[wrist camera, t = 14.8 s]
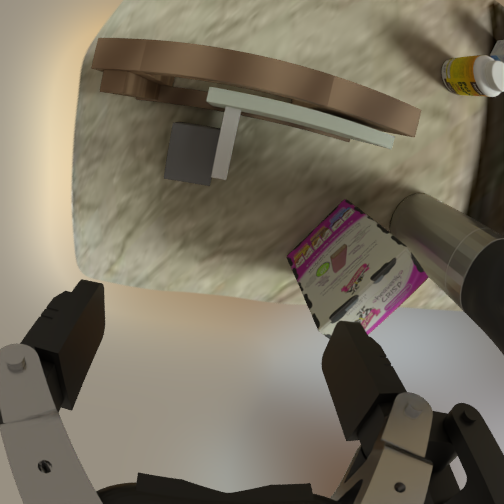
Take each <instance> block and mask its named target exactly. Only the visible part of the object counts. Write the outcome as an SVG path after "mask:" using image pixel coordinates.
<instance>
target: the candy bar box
mask: <svg viewBox="0 0 504 504" xmlns="http://www.w3.org/2000/svg"><path fill="white" fill-rule="evenodd" d="M287 259H288V262H289V264H290V266H291V269H292V271H293V273H294V275H295V278H296V280H297V282H298V284H299V286H300V289H301V291H302V294H303V296H304V298H305V301H306V303H307V306H308V308H309V310H310V312H311V314H312V317H313V319H314V322H315V324H316V326H317V328H318V331H319V332H321V333H322V334H323V335H325V336H326V337H328V338H329V339H330V337H331V335H332V333H333V330H334V328H335V326H336V324H337V323H338V322H339V321H350V322H359V323H361V324H362V326H363V328H364V329H365V331H366V333H367V335H368V334H369V333H370V332H372V331H373V330H374V329H375V328H376V327H377V326H378V325H379V324H381V323H382V322H383V321H384V320H385V319H386V318H387V317H388V316H389V315H390V314H391V313H392V312H394V311H395V310H396V309H397V308H398V307H399V306H400V305H401V304H402V303H403V302H404V301H405V300H406V299H407V298H408V297H409V296H410V295H411V294H413V293H414V292H415V291H416V290H417V289H418V288H419V287H420V286H421V285H422V284H423V283H424V282H425V281H426V280H427V279H428V275H427V274H426V272H425V271H424V270H423V268H422V267H421V265H420V263H419V262H418V261H417V259H416V258H415V256H414V255H413V253H412V252H411V251H410V249H409V248H408V247H407V246H406V245H405V244H403V243H402V242H401V241H400V240H399V239H397V238H396V237H395V236H393V235H392V234H391V233H390V232H388V231H387V230H386V229H384V228H383V227H382V226H381V225H379V224H378V223H377V222H375V221H374V220H373V219H372V218H370V217H369V216H368V215H366V214H365V213H364V212H362V211H361V210H360V209H359V208H357V207H356V206H354V205H353V204H352V203H351V202H349V201H348V200H346V199H344V200H343V201H342V202H341V203H340V204H339V205H338V206H337V207H336V208H335V209H334V210H333V211H332V212H331V213H330V214H329V215H328V216H327V217H326V218H325V219H324V220H323V221H322V222H321V223H320V224H319V225H318V226H317V227H316V228H315V229H314V230H313V231H312V232H311V233H310V234H309V235H308V236H307V237H306V238H305V239H304V240H303V241H302V242H301V243H300V244H299V245H298V246H297V247H296V248H295V249H294V250H293V251H292V252H291V253H290V254H289V255H288V256H287Z"/></svg>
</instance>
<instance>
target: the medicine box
mask: <svg viewBox="0 0 504 504" xmlns="http://www.w3.org/2000/svg"><path fill="white" fill-rule="evenodd" d="M490 57H491V58H493V59H494V60H495V61H501V62H503V63H504V40H500V41H497V43H496V44H495V46H494V48H493V50H492V52H491V54H490Z"/></svg>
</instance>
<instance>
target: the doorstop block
mask: <svg viewBox="0 0 504 504" xmlns="http://www.w3.org/2000/svg"><path fill="white" fill-rule="evenodd" d="M220 131H221V129H220V128H214V127H208V126H202V125H196V124H190V123H183V122H176V123H173V126H172V132H171V137H170V143H169V149H168V155H167V161H166V167H165V173H164V178H165V179H171V180H177V181H183V182H189V183H195V184H201V185H207V186H210V183H211V179H212V177H211V175H212V170H213V165H214V160H215V155H216V150H217V145H218V140H219V136H220Z"/></svg>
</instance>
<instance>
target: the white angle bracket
mask: <svg viewBox="0 0 504 504" xmlns="http://www.w3.org/2000/svg"><path fill="white" fill-rule="evenodd" d="M206 101H207V102H208V103H209V104H211V105H212V106H214V107H220V108H225V112H224V117H223V121H222V126H221V131H220V136H219V140H218V145H217V150H216V155H215V160H214V165H213V170H212V175H211V177H213V178H218V179H224V180H226V179H227V174H228V170H229V165H230V160H231V155H232V151H233V146H234V141H235V137H236V132H237V127H238V123H239V118H240V114H241V112H246V113H251V114H256V115H260V116H265V117H269V118H274V119H278V120H282V121H286V122H290V123H294V124H298V125H302V126H306V127H310V128H313V129H317V130H321V131H324V132H328V133H331V134H335V135H338V136H341V137H345V138H349V139H353V140H357V141H361V142H365V143H369V144H373V145H377V146H381V147H385V148H388V149H392V146H393V142H394V138H395V136H392V135H389V134H387V133H384V132H381V131H378V130H376V129H373V128H370V127H367V126H364V125H361V124H358V123H355V122H352V121H349V120H346V119H343V118H340V117H336V116H333V115H330V114H326V113H323V112H319V111H316V110H312V109H309V108H305V107H301V106H298V105H294V104H290V103H286V102H282V101H278V100H273V99H269V98H265V97H260V96H256V95H251V94H246V93H241V92H236V91H231V90H225V89H220V88H214V87H209V91H208V96H207V100H206Z"/></svg>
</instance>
